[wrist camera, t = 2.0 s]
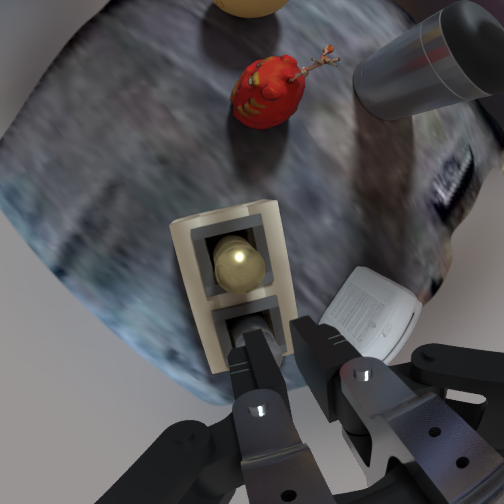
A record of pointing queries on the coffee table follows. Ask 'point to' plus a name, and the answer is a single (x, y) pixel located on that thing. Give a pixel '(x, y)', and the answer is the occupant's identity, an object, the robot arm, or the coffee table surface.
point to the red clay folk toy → (272, 89)
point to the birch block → (221, 301)
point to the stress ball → (250, 7)
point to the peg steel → (253, 323)
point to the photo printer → (373, 314)
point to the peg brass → (237, 265)
